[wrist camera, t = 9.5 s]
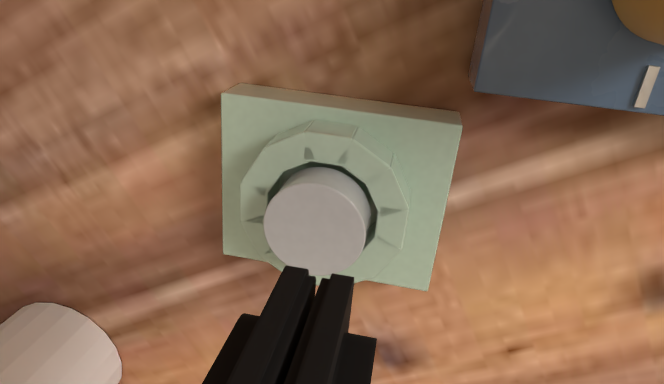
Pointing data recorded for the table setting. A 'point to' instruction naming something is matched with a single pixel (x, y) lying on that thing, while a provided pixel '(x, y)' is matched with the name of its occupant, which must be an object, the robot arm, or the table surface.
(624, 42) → the valve panel
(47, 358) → the toilet paper
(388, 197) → the green button base
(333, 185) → the grey push button
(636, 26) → the valve knob
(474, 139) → the table surface
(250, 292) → the table surface
